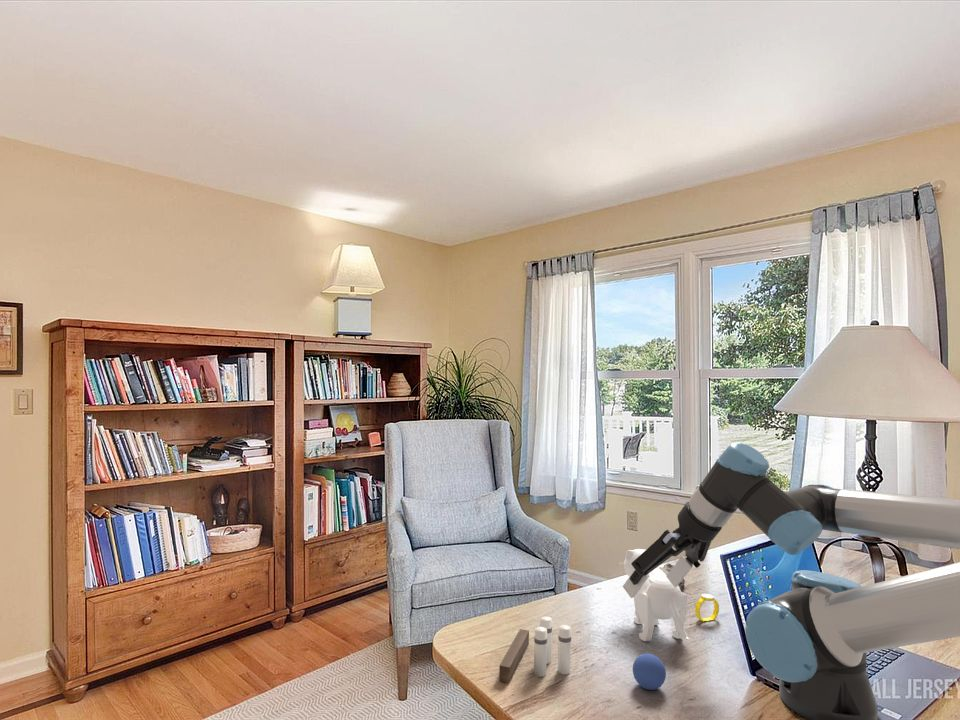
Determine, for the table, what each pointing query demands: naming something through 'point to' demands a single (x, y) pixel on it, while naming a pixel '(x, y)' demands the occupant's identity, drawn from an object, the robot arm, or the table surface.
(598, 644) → the table surface
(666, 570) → the mineral rock
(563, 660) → the front pin
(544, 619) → the pin
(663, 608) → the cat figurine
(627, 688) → the table surface
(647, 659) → the ball
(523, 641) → the back wall
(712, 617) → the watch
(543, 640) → the pin
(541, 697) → the table surface
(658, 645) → the table surface
